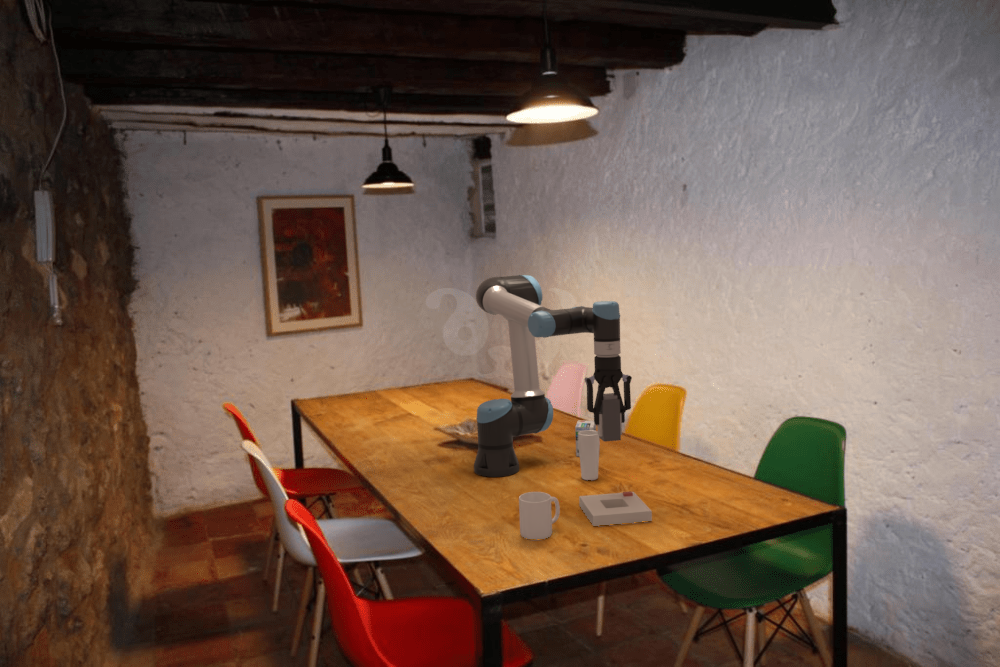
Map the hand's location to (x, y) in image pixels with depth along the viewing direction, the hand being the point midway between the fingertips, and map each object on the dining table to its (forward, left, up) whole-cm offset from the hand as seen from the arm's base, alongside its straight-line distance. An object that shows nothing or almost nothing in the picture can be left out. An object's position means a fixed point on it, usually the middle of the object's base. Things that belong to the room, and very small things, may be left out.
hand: (609, 434), depth 217 cm
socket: (-3, -13, -19) cm, 23 cm away
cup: (-25, -22, -19) cm, 38 cm away
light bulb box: (+4, +48, -19) cm, 52 cm away
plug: (0, 0, -1) cm, 1 cm away
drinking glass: (-2, +19, -19) cm, 28 cm away
